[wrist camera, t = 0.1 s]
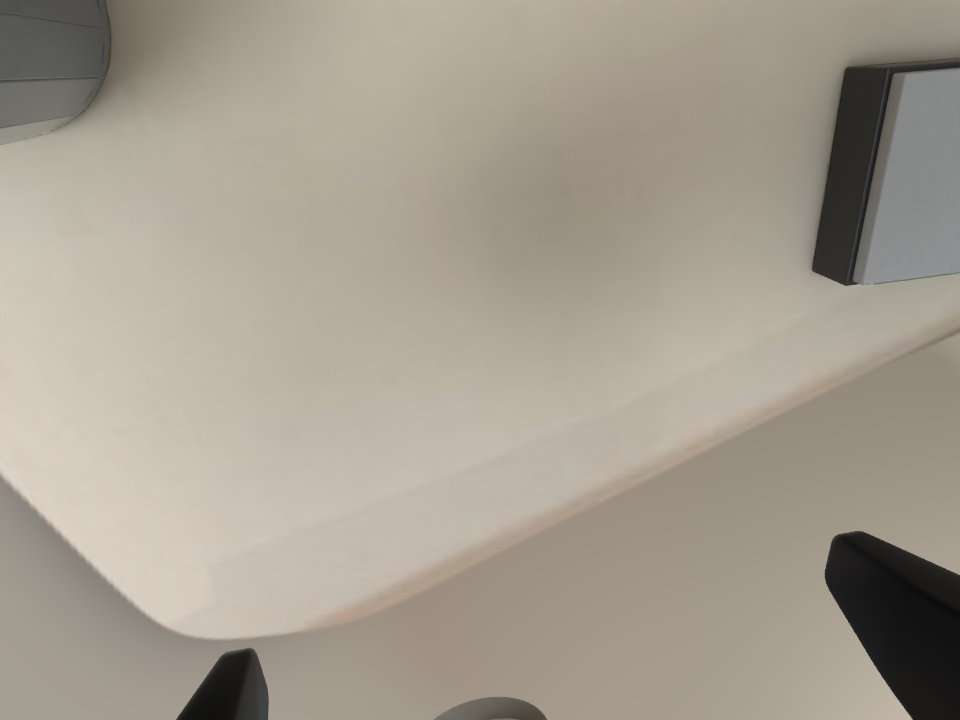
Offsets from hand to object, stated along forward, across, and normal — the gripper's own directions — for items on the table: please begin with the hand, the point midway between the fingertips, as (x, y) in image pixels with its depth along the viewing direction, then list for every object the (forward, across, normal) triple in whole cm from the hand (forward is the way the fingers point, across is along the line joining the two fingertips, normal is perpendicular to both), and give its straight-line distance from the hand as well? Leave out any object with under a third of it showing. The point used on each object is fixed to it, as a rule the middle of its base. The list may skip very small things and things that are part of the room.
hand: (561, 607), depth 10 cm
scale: (+15, -19, -2) cm, 25 cm away
